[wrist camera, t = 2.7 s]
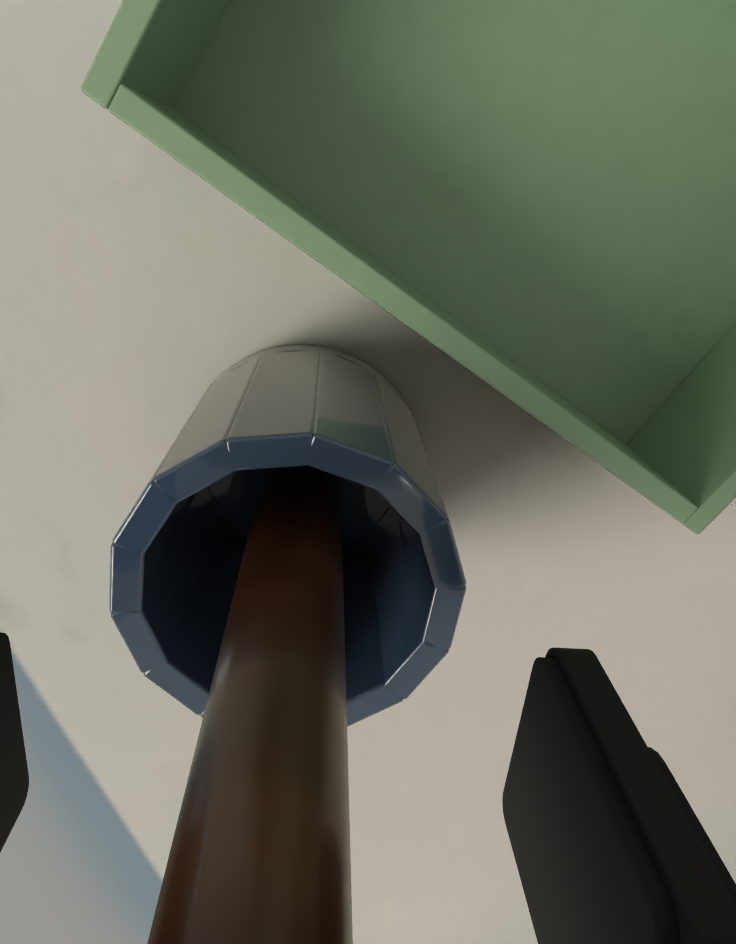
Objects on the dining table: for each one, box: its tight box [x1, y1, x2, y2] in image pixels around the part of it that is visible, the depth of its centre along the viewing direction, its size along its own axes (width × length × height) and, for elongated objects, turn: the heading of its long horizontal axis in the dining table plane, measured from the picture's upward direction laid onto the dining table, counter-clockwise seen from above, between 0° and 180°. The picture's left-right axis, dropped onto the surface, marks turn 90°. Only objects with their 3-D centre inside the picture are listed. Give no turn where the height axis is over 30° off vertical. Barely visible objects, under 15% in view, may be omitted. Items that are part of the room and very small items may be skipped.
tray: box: [81, 0, 736, 534], centre depth 14 cm, size 15×10×4 cm, turn 55°
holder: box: [109, 345, 466, 727], centre depth 15 cm, size 6×6×7 cm
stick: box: [148, 466, 353, 944], centre depth 11 cm, size 2×2×14 cm
